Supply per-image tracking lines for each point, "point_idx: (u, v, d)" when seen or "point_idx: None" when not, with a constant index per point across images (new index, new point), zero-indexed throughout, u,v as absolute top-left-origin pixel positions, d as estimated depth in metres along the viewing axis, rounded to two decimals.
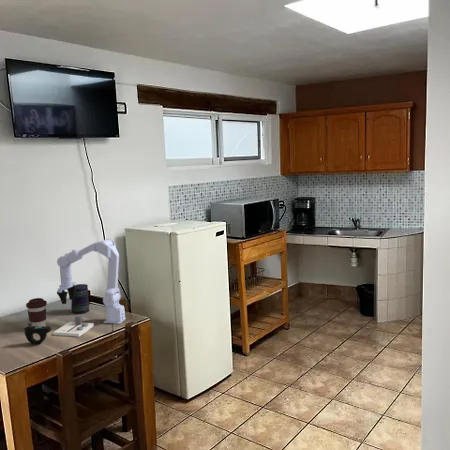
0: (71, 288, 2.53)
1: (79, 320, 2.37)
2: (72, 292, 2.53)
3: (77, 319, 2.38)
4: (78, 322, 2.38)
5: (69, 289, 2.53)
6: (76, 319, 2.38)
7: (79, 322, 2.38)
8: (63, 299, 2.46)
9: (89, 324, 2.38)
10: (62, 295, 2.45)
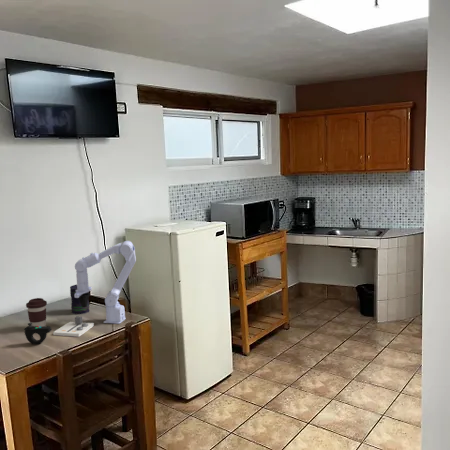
0: None
1: (79, 320, 2.37)
2: None
3: (77, 319, 2.38)
4: (78, 322, 2.38)
5: None
6: (76, 319, 2.38)
7: (79, 322, 2.38)
8: (83, 302, 2.43)
9: (89, 324, 2.38)
10: (82, 298, 2.43)
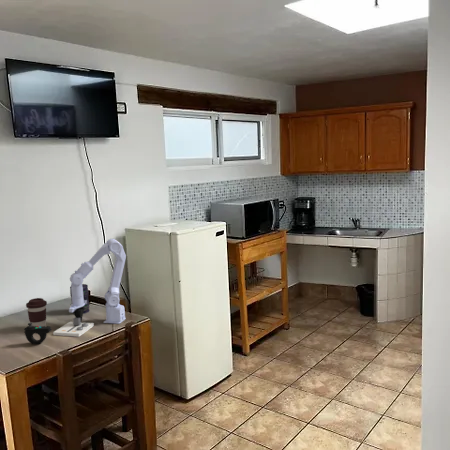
0: None
1: (77, 321, 2.36)
2: None
3: (75, 320, 2.36)
4: (76, 323, 2.36)
5: None
6: (74, 320, 2.36)
7: (77, 323, 2.36)
8: (78, 317, 2.38)
9: (89, 324, 2.38)
10: (77, 313, 2.38)
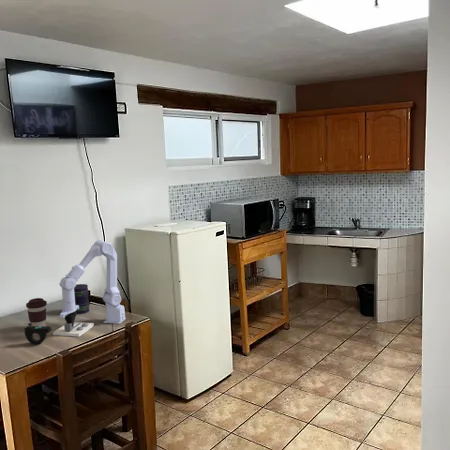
0: None
1: (69, 327, 2.28)
2: None
3: (67, 326, 2.28)
4: (68, 329, 2.28)
5: None
6: (65, 326, 2.28)
7: (69, 329, 2.28)
8: (69, 322, 2.30)
9: (89, 324, 2.38)
10: (68, 318, 2.30)
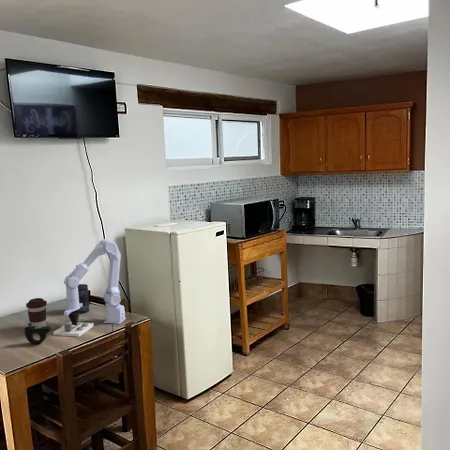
0: None
1: (69, 327, 2.28)
2: None
3: (67, 326, 2.28)
4: (68, 329, 2.28)
5: None
6: (65, 326, 2.28)
7: (69, 329, 2.28)
8: (73, 320, 2.34)
9: (89, 324, 2.38)
10: (72, 316, 2.33)
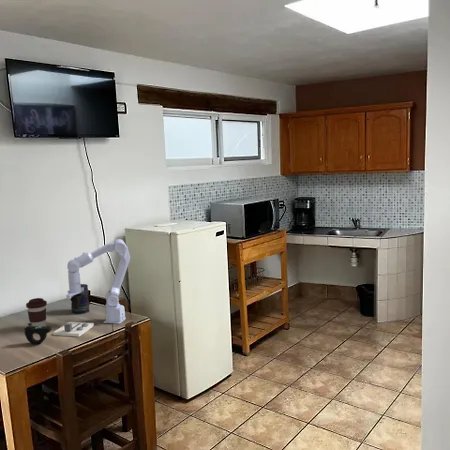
0: None
1: (69, 327, 2.28)
2: None
3: (67, 326, 2.28)
4: (68, 329, 2.28)
5: None
6: (65, 326, 2.28)
7: (69, 329, 2.28)
8: (75, 303, 2.39)
9: (89, 324, 2.38)
10: (74, 299, 2.39)
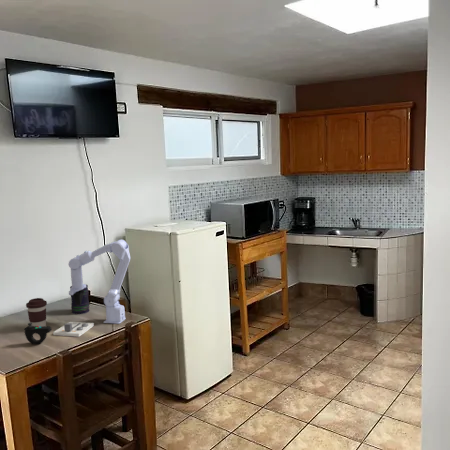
0: None
1: (69, 327, 2.28)
2: None
3: (67, 326, 2.28)
4: (68, 329, 2.28)
5: None
6: (65, 326, 2.28)
7: (69, 329, 2.28)
8: (77, 300, 2.45)
9: (89, 324, 2.38)
10: (76, 296, 2.45)
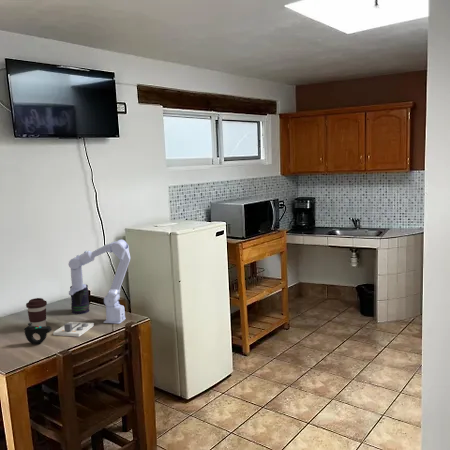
0: None
1: (69, 327, 2.28)
2: None
3: (67, 326, 2.28)
4: (68, 329, 2.28)
5: None
6: (65, 326, 2.28)
7: (69, 329, 2.28)
8: (77, 300, 2.45)
9: (89, 324, 2.38)
10: (76, 296, 2.45)
